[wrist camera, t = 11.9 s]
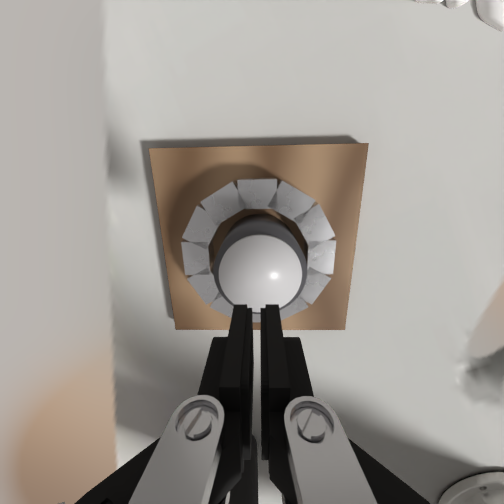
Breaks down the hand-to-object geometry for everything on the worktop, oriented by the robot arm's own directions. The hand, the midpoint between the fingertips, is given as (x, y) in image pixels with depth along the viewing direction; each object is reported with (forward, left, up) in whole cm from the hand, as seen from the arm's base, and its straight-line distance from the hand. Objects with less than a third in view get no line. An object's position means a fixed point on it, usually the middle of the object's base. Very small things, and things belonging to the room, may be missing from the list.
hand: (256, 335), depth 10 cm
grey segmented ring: (0, 0, -11) cm, 11 cm away
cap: (0, 0, -11) cm, 11 cm away
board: (0, 0, -12) cm, 12 cm away
